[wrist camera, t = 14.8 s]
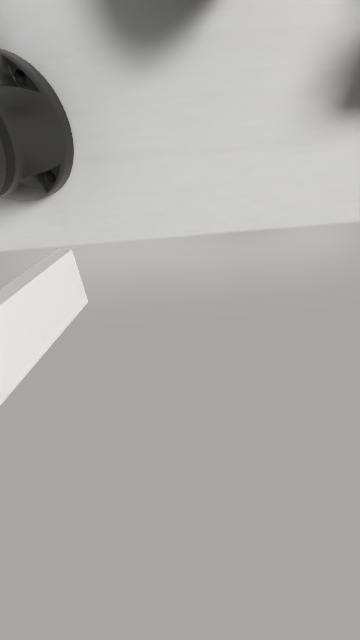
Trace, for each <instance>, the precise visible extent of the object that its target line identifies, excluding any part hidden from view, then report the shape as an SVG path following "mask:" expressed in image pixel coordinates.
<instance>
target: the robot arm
mask: <svg viewBox="0 0 360 640" xmlns="http://www.w3.org/2000/svg"><path fill="white" fill-rule="evenodd" d="M73 155H74V149H73V138H72V133H71V128H70V125H69V121H68V118H67V116H66V113H65V111H64V108H63V106H62V104H61V102H60V100H59V98H58V97H57V95H56V93H55V92H54V90H53V89H52V87H51V86H50V84H49V83H48V82H47V81H46V79H45V78H44V77H43V76H42V75H41V74H40V73H39V72H38V71H37V70H36V69H35V68H34V67H33V66H32V65H31V64H29V63H28V62H27V61H25V60H24V59H22V58H21V57H19V56H17V55H15V54H13V53H11V52H8V51H5V50H1V49H0V198H7V199H17V200H37V199H41V198H44V197H46V196H49V195H51V194H53V193H55V192H56V191H58V190H59V189H60V188H61V187H62V186H63V185H64V184H65V182H66V181H67V179H68V177H69V175H70V172H71V169H72V164H73ZM87 303H88V300H87V297H86V293H85V290H84V287H83V284H82V280H81V277H80V274H79V271H78V268H77V264H76V261H75V258H74V255H73V251H72V249H55V250H54V251H53V252H51V253H50V254H48V255H47V256H46V257H44V258H43V259H41V260H40V261H39V262H37V263H36V264H34V265H33V266H32V267H30V268H29V269H28V270H26V271H25V272H23V273H22V274H21V275H19V276H18V277H17V278H15V279H14V280H12V281H11V282H9V283H8V284H7V285H5V286H4V287H3V288H1V289H0V405H1V404H2V403H3V401H4V400H5V399H6V398H7V397H8V396H9V394H10V393H11V392H12V391H13V390H14V389H15V387H16V386H17V385H18V384H19V383H20V382H21V380H22V379H23V378H24V377H25V376H26V374H27V373H28V372H29V371H30V370H31V369H32V367H33V366H34V365H35V364H36V363H37V361H38V360H39V359H40V358H41V357H42V355H43V354H44V353H45V352H46V351H47V350H48V348H49V347H50V346H51V345H52V344H53V342H54V341H55V340H56V339H57V338H58V337H59V336H60V334H61V333H62V332H63V331H64V330H65V329H66V327H67V326H68V325H69V324H70V323H71V321H72V320H73V319H74V318H75V317H76V316H77V314H78V313H79V312H80V311H81V310H82V309H83V307H84V306H85V305H86V304H87Z"/></svg>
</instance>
